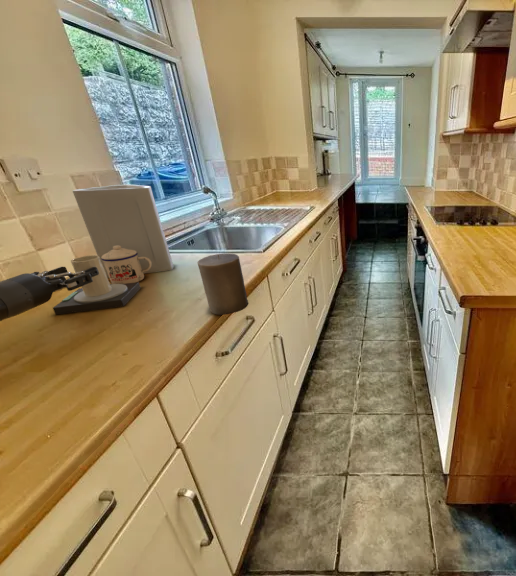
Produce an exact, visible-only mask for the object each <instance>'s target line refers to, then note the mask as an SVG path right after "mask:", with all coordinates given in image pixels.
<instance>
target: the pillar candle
mask: <svg viewBox="0 0 516 576" xmlns="http://www.w3.org/2000/svg"><path fill="white" fill-rule="evenodd" d="M197 266H198V270H199V274H200V277H201V281H202V286H203V290H204V294H205V297H206V300H207V305H208V308H209V309H208V310H209V311H210V312H211V313H212V314H214V315H217V316H223V315H231V314H234V313H235V314H236V313H238V312H241V311H243V310H244V309H246V308H247V307H248V306H249V300H248V294H247V291H246V285H245V281H244V280H245V279H244V276H243V270H242V265H241V261H240V257H239V255H238V254H235V253H224V252H223V253H216V254H211V255H207V256H204V257H202V258H200V259H199V260H198V261H197Z"/></svg>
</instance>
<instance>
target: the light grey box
mask: <svg viewBox="0 0 516 576" xmlns="http://www.w3.org/2000/svg"><path fill="white" fill-rule="evenodd" d="M72 194H73V196H74V198H75V202H76V204H77V207H78V209H79V211H80V214H81V216H82V220H83V222H84V224H85V227H86V230H87V233H88V235H89V237H90V240H91V242H92V245H93V247H94V250H95V253H96V255H98V256H99V257H100V259H101V257H102V255H104V254H106V253H108V252H109V251H111V250H113V246H117V245H119V246H121V248H125V249H128V250H135V251H136V252H137V253H138V254H137V256H138V257H147V258H149V259H150V260H151V268H150V269H149V270H148V271H146V272H143V274H151V273H158V272H164V271H165V272H166V271H172V270H173V269H174V262H173V260H172V255H171V253H170V249H169V245H168V242H167V239H166V235H165V232H164V228H163V224H162V221H161V217H160V214H159V210H158V207H157V205H156V200H155V197H154V194H153V190H152V186H151V185H140V184H130V183H129V184H128V183H127V184H113V185H105V186H95V187H85V188H77V189H73V190H72ZM101 262H102V264H103V267H104V270H105V272H106V275H107V277H108V279H110V277H109V275H108V272H107V270H106V267H105V264H104V262H103V260H102V259H101ZM139 262H140V265H141V268H142V270H143V269H146V268H148V266H149V263H148V261H147V260H144V259H140V260H139Z"/></svg>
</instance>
